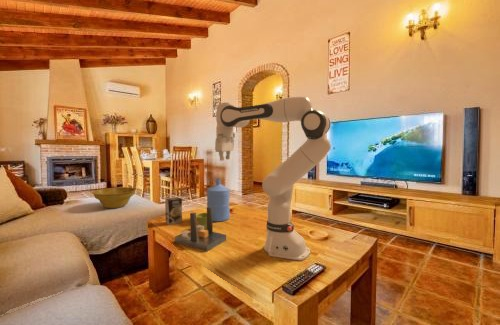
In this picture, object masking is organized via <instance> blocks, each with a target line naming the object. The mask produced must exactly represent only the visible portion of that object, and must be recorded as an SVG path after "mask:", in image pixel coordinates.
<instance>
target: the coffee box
mask: <svg viewBox="0 0 500 325" xmlns="http://www.w3.org/2000/svg"><path fill="white" fill-rule="evenodd" d="M164 199H165V200H164V202H165V204H164V205H165V208H164V209H165V214H164V215H165V216H164V217H165V223H166V225H169V226H172V225H176V224H179V223H180V224H181V223H183V198H181V197H178V196H177V197H170V198H164Z"/></svg>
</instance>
